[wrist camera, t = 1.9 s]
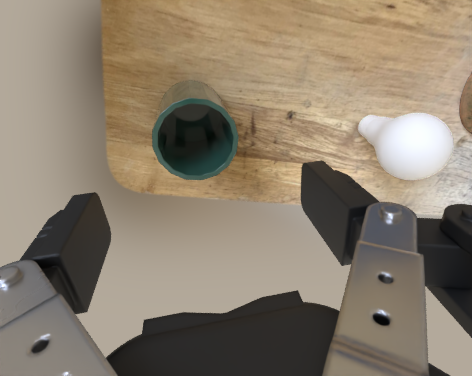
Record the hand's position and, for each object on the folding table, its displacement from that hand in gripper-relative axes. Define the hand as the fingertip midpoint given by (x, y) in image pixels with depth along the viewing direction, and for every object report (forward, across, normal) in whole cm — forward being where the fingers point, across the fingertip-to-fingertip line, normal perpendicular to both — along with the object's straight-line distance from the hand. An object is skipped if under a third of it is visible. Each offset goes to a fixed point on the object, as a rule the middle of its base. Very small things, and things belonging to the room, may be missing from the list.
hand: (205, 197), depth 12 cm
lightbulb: (+20, -19, +5) cm, 29 cm away
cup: (+20, 0, +2) cm, 20 cm away
